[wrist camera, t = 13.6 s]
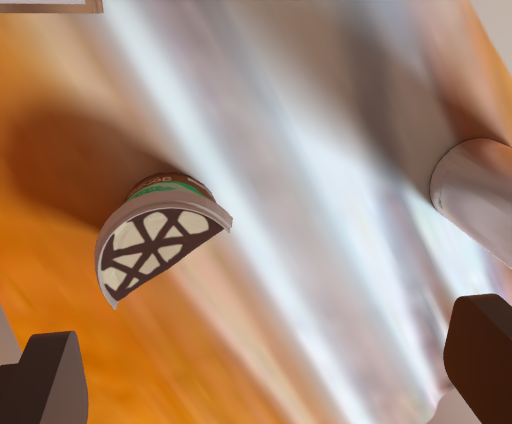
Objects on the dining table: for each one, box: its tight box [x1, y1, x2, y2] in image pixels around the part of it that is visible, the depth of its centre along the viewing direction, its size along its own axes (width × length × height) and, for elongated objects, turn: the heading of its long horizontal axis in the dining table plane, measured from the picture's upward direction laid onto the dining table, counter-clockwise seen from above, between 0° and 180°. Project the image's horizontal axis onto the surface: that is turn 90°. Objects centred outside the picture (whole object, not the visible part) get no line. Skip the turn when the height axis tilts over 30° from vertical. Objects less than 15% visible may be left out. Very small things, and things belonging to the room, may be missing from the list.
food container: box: [95, 173, 233, 310], centre depth 39 cm, size 12×6×10 cm, turn 123°
